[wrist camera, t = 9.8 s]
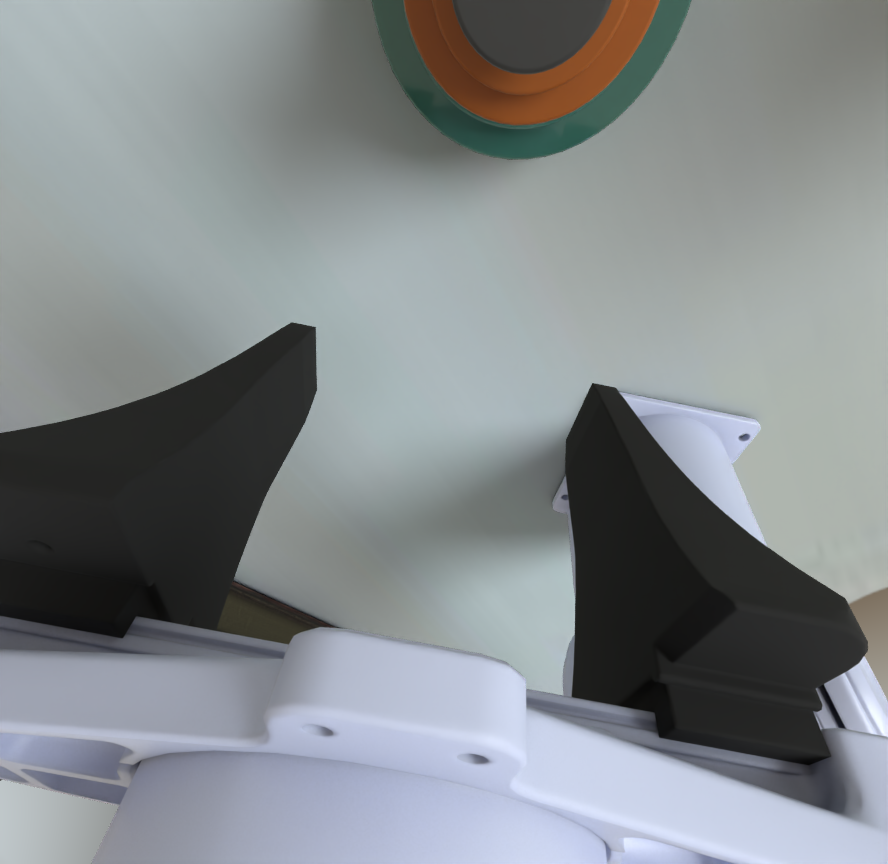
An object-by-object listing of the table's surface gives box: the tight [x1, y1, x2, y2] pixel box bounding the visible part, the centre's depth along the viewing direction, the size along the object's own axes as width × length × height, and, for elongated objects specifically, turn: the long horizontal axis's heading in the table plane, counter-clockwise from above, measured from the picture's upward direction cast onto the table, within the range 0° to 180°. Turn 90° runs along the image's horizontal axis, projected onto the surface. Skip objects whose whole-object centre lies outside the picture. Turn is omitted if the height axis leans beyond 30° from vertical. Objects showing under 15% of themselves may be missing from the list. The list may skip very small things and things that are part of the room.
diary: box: [216, 582, 335, 645], centre depth 49 cm, size 19×25×5 cm
